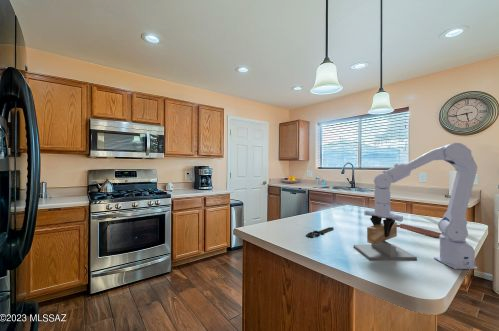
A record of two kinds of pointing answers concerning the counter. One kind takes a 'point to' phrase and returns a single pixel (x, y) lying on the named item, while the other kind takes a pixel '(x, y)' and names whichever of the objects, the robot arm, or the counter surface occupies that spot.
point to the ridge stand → (384, 252)
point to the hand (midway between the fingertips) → (382, 235)
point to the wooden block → (380, 233)
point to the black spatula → (319, 232)
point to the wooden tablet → (420, 230)
